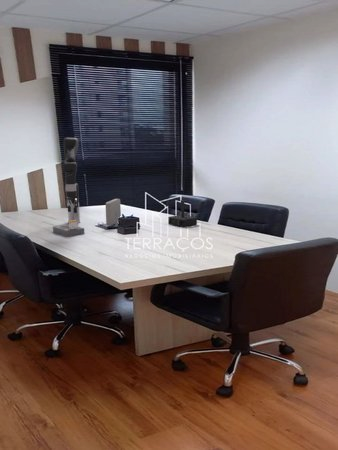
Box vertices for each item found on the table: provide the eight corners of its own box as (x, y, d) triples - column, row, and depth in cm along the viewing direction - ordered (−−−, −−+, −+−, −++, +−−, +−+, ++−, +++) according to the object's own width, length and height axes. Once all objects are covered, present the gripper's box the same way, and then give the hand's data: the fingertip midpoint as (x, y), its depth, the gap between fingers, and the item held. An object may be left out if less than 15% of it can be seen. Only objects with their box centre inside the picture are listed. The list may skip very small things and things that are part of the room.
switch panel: (53, 231, 320) (52, 226, 319) (69, 229, 329) (69, 224, 328) (67, 236, 304) (67, 231, 303) (84, 233, 313) (84, 228, 312)
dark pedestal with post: (166, 224, 344) (166, 200, 340) (181, 222, 355) (181, 198, 351) (182, 228, 330) (182, 202, 326) (197, 225, 341) (197, 200, 337)
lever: (69, 228, 309) (68, 220, 308) (75, 227, 313) (75, 219, 311) (71, 229, 307) (70, 221, 306) (77, 228, 310) (77, 220, 309)
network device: (113, 228, 332) (112, 202, 328) (103, 227, 334) (102, 202, 330) (123, 222, 357) (122, 198, 353) (113, 221, 358) (112, 198, 354)
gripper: (80, 190, 302) (81, 212, 305) (70, 189, 312) (72, 210, 315) (71, 191, 297) (72, 214, 300) (61, 190, 308) (62, 212, 311)
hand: (72, 212), depth 308 cm, fingers open, 8 cm apart
